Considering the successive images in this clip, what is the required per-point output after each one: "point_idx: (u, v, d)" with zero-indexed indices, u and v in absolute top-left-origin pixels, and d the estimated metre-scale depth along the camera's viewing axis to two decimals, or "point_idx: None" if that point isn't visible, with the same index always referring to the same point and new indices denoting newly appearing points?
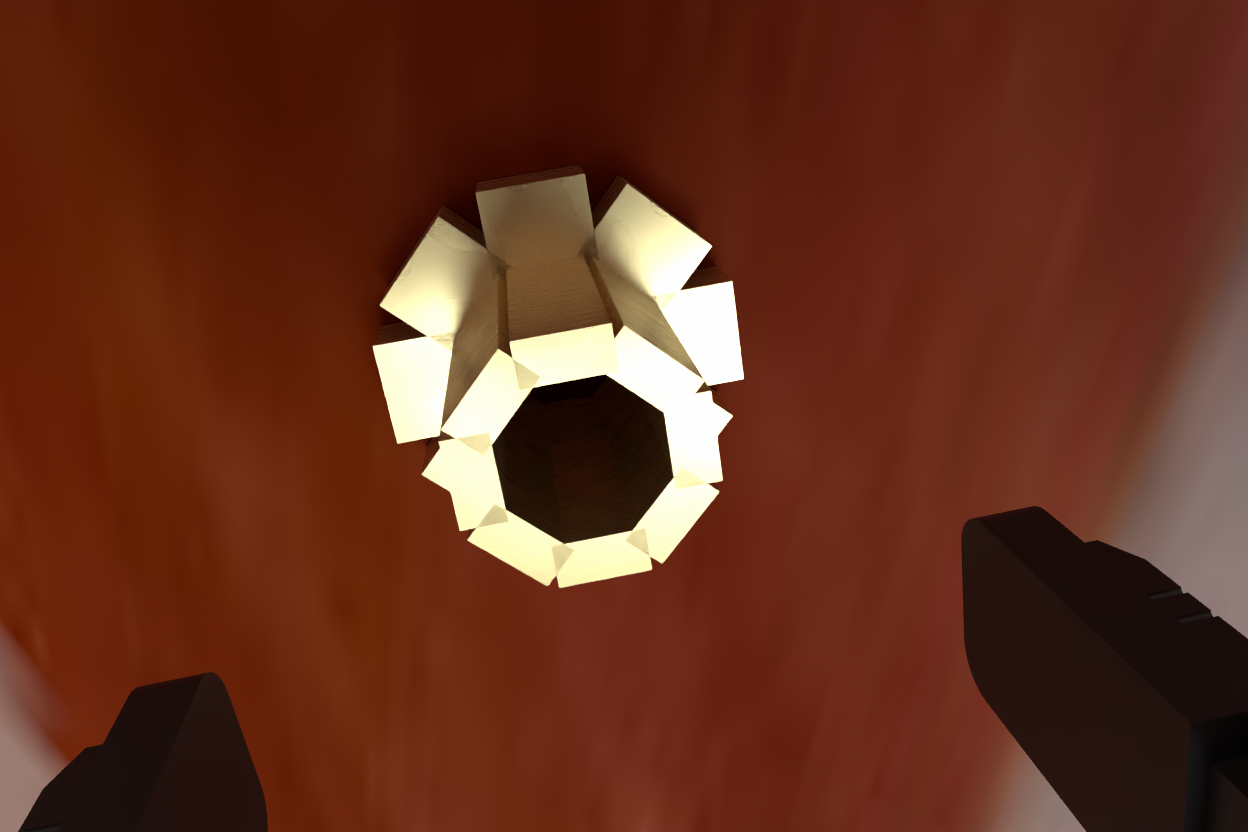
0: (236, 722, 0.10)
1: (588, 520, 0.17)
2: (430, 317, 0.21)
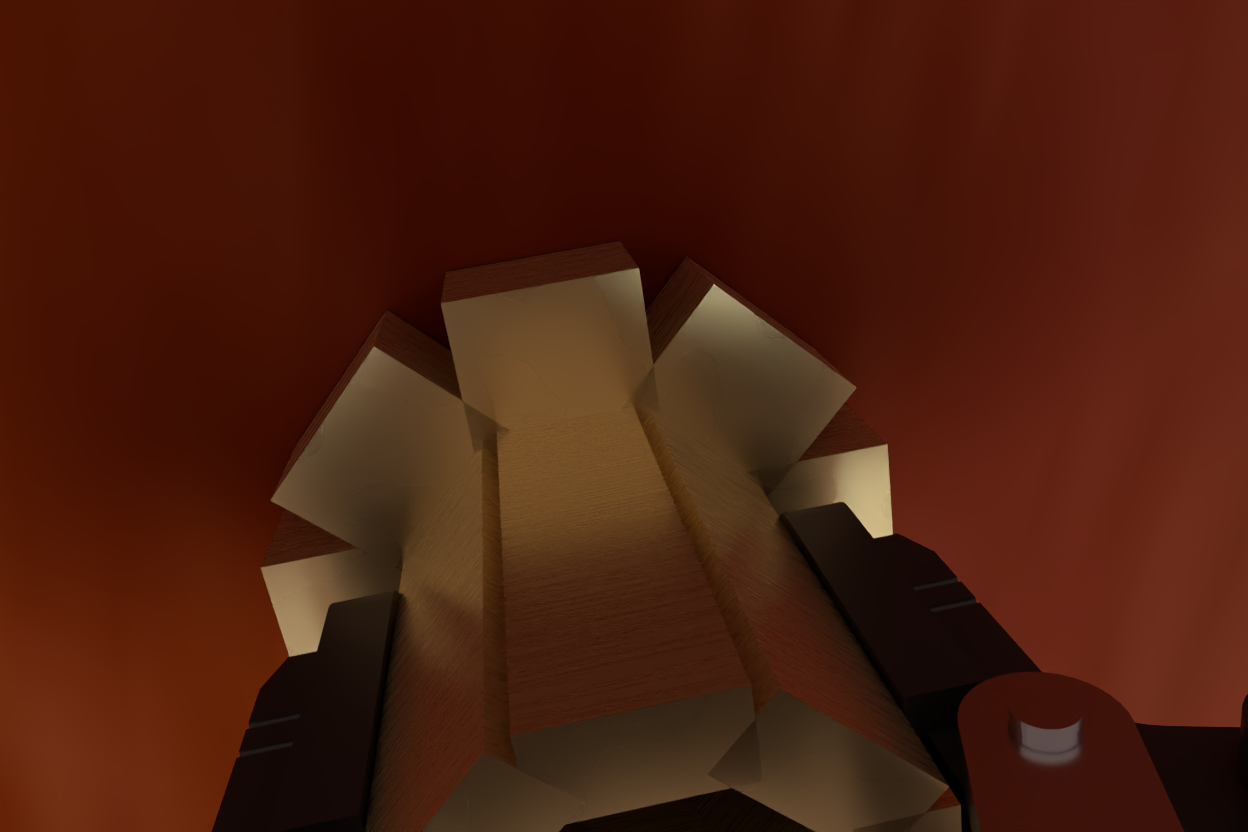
0: None
1: None
2: (362, 517, 0.12)
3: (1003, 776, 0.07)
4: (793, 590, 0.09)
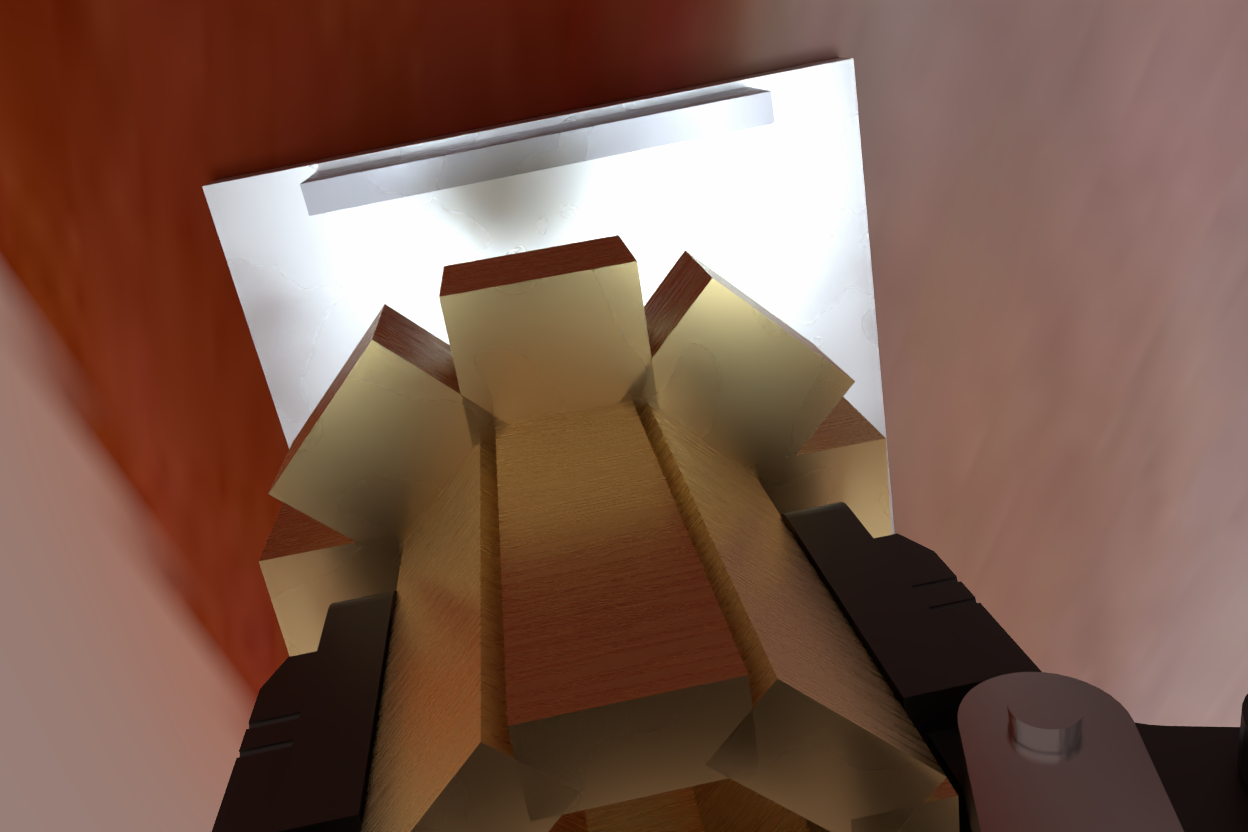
0: None
1: None
2: (361, 511, 0.12)
3: (1003, 776, 0.07)
4: (791, 582, 0.09)
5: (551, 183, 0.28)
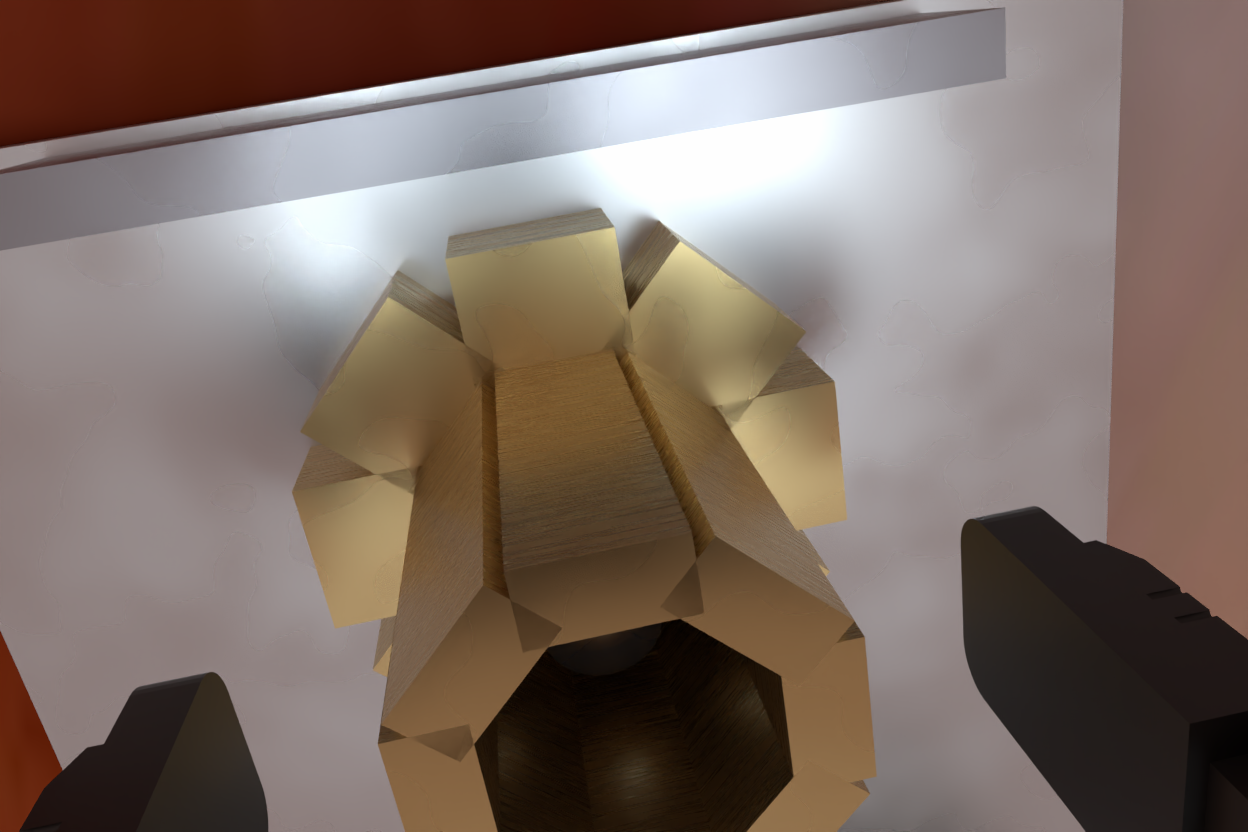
0: (237, 722, 0.10)
1: (640, 826, 0.10)
2: (379, 447, 0.13)
3: None
4: (740, 485, 0.11)
5: (528, 193, 0.14)
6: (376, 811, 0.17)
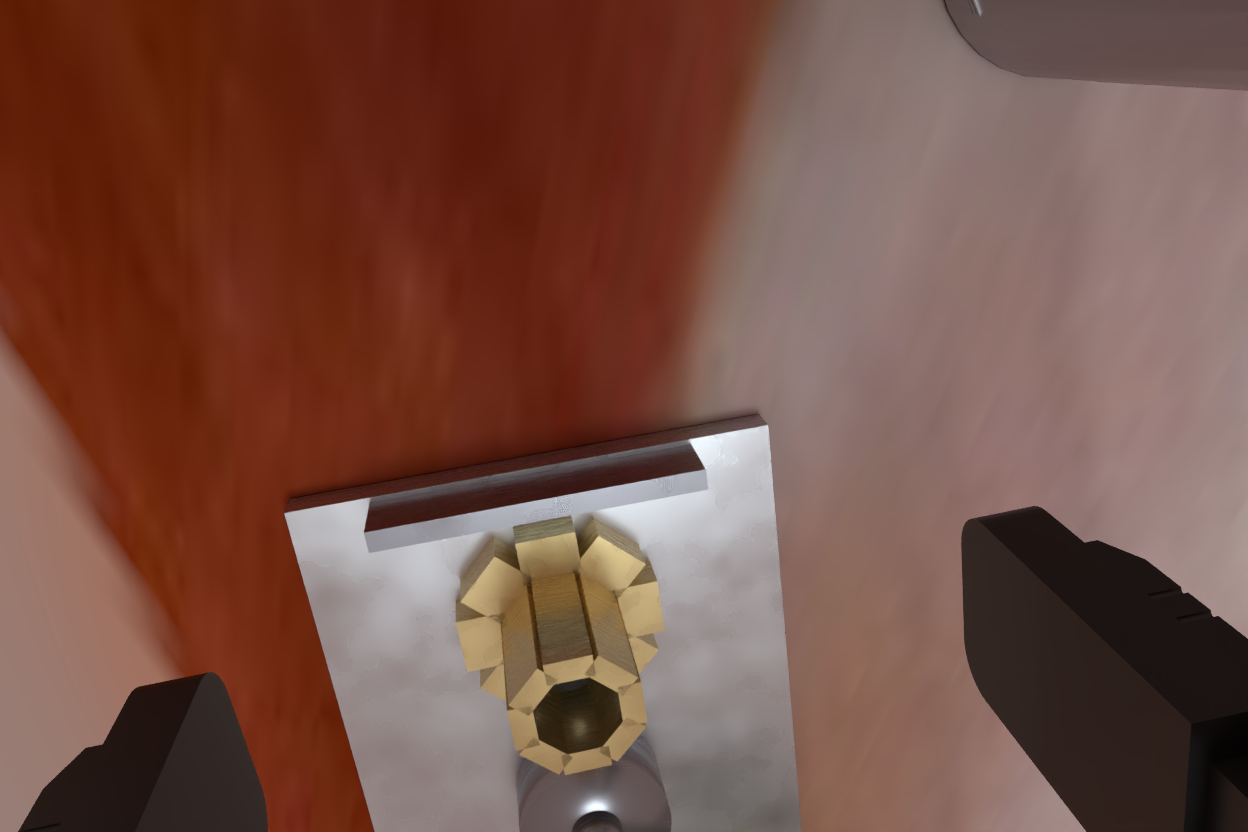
0: (236, 722, 0.10)
1: (579, 738, 0.34)
2: (488, 606, 0.37)
3: None
4: (612, 632, 0.34)
5: None
6: (471, 747, 0.41)
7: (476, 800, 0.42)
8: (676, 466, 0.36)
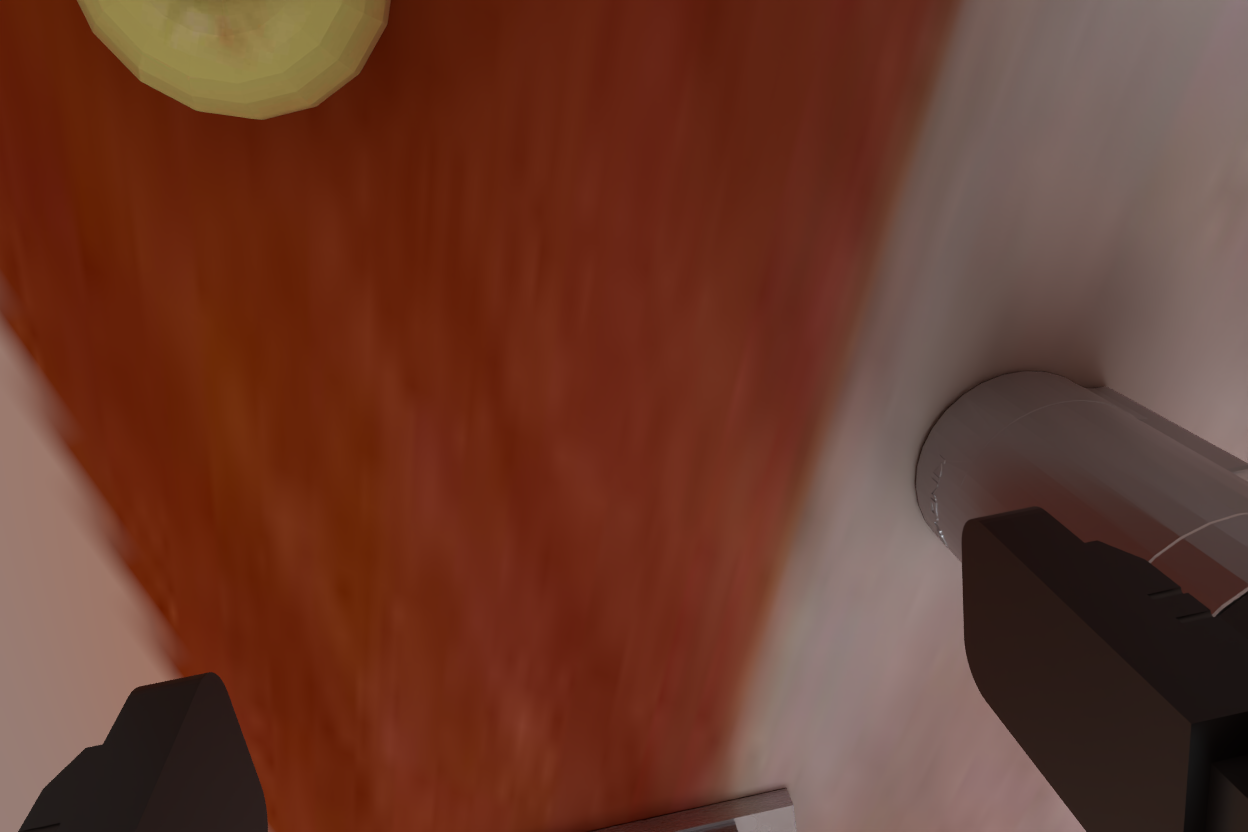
0: (236, 723, 0.10)
1: None
2: None
3: None
4: None
5: None
6: None
7: None
8: None
